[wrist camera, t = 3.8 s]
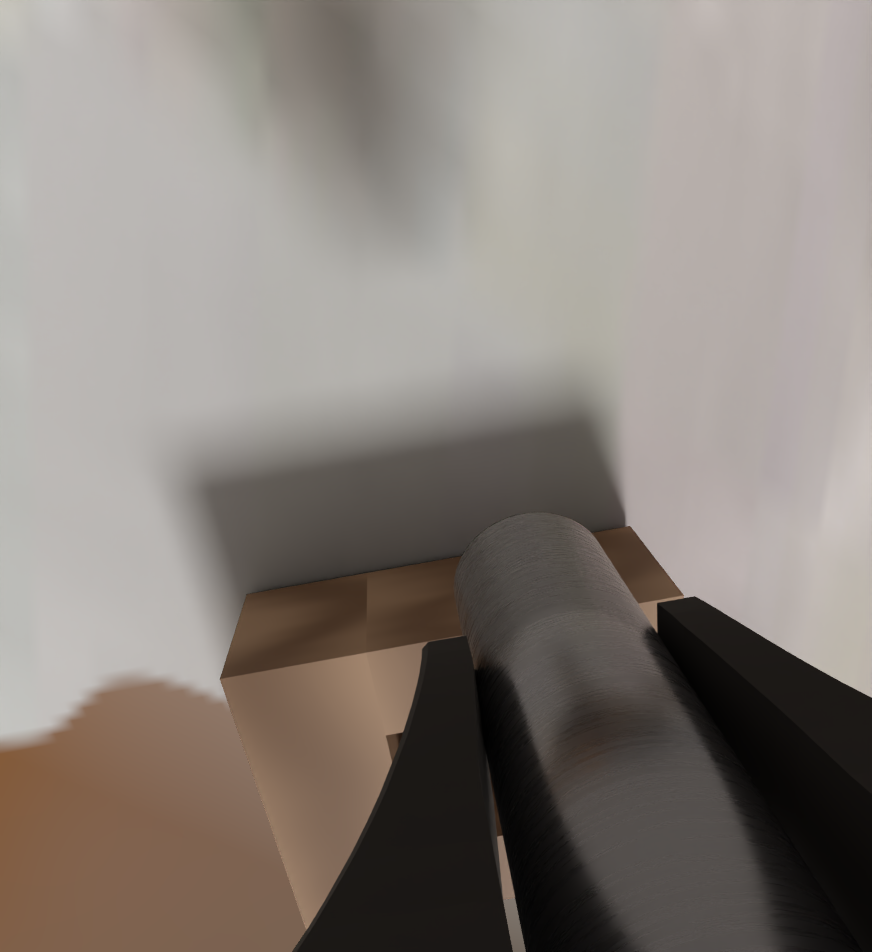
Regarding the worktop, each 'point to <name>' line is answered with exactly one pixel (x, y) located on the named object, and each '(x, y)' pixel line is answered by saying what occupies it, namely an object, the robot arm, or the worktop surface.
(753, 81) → the worktop surface
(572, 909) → the peg
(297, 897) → the hole block
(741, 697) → the robot arm
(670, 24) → the worktop surface
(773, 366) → the worktop surface
